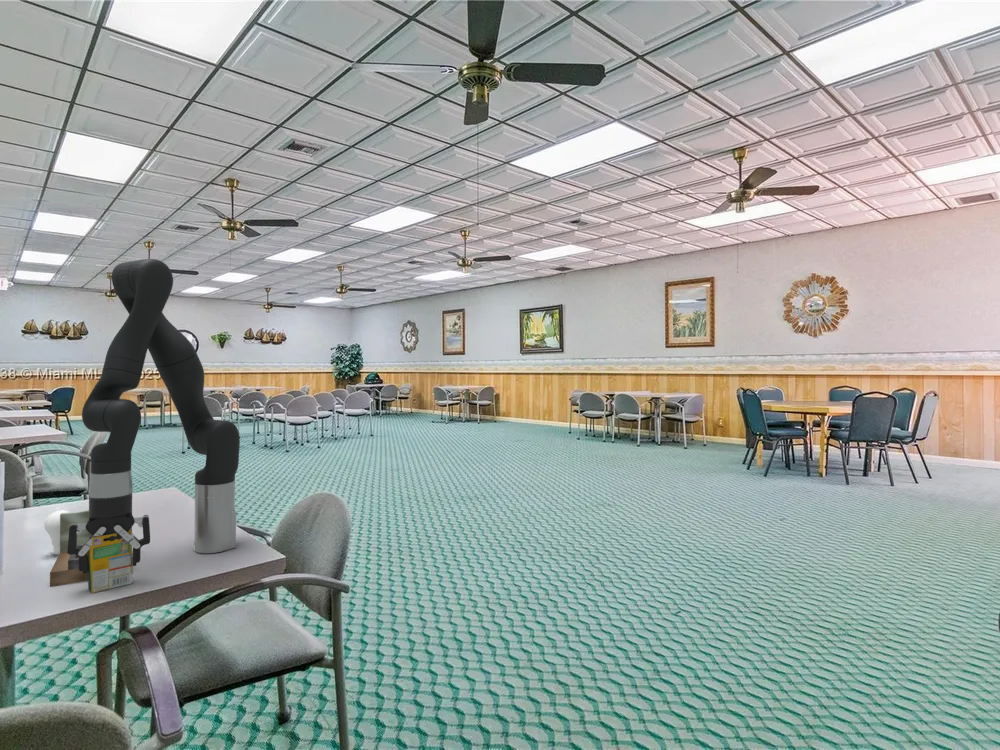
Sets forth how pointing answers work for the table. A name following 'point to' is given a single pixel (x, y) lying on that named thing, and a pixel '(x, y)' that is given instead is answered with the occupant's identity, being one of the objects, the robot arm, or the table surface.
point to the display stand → (65, 563)
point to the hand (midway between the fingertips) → (110, 568)
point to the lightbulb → (54, 529)
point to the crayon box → (109, 563)
